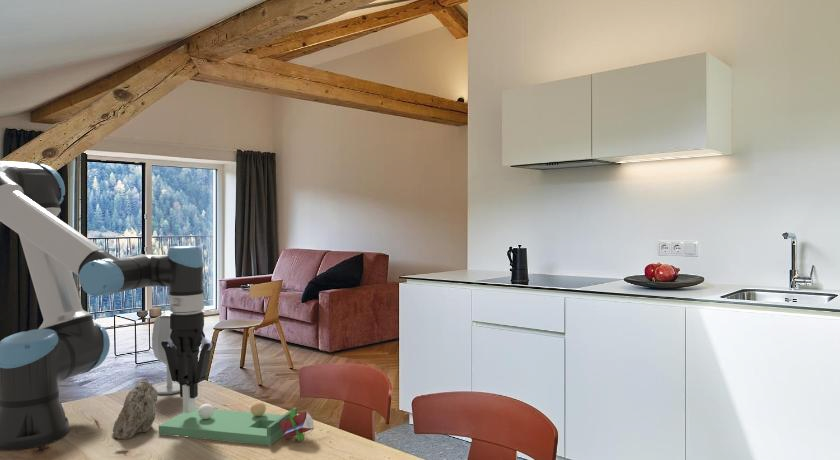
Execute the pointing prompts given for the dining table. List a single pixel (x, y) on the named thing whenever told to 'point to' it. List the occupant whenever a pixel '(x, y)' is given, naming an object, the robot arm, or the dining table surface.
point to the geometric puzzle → (297, 425)
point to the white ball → (206, 411)
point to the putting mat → (227, 426)
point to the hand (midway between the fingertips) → (189, 411)
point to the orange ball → (258, 408)
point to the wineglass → (163, 352)
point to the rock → (136, 411)
